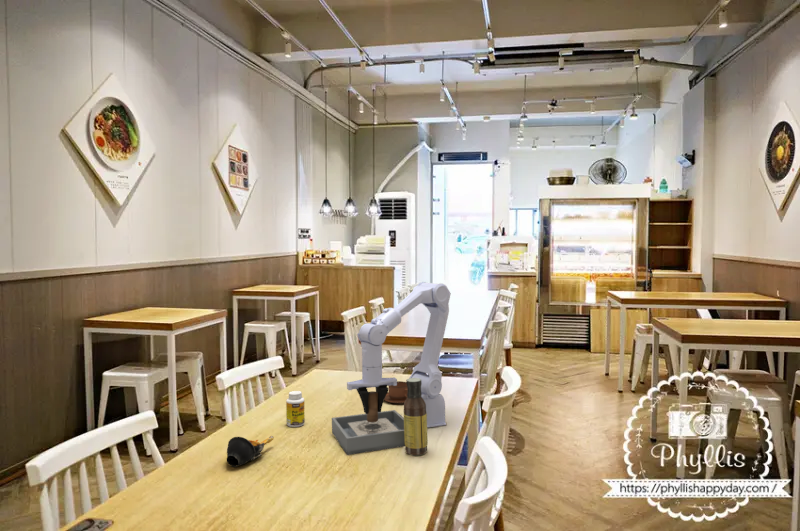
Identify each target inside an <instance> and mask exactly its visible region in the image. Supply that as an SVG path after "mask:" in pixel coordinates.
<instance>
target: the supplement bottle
mask: <svg viewBox="0 0 800 531" xmlns="http://www.w3.org/2000/svg"><path fill="white" fill-rule="evenodd" d="M285 401H286V402H285V403H286V404H285V405H286V407H285V408H286V409H285V410H286V411H285V412H286V418H285V419H286V426H288V427H290V428H299V427H301V426H303V425H304V424H305V420H306V419H305V398H304V396H303V393H302V391H300V390H293V391H289V392H288V398H287V399H286V400H285Z"/></svg>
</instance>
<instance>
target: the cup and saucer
mask: <svg viewBox="0 0 800 531" xmlns="http://www.w3.org/2000/svg"><path fill="white" fill-rule="evenodd" d="M407 393H408V391H407V384H406V381H398V380H397V385H396V386H393V385H390V386H388V393H387V394H386V396H385V399H384V401H385V402H386V403H390V404H404V403H405V401H406V399H407V396H408V395H407Z"/></svg>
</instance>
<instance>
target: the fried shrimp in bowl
mask: <svg viewBox="0 0 800 531" xmlns="http://www.w3.org/2000/svg"><path fill="white" fill-rule="evenodd" d="M273 440H274V436H273V435H270V436H269V437H267V438H266V439H264V440H262V441H260V442H259V439H255V440H251V439H250V440H249V439H247V438H245V437H242V436H234V437H231V439H229V440H228V444H227V449H226V455H227V457H226V463H227V464H228V466H230V467H231V468H237V467H239V466H242V465H245V464H247V463H249V462H250V461H255V460H257V459H258V458H260V457H261V456H262V451H264V447H265V445H267V444H269V443H271V442H272V441H273Z"/></svg>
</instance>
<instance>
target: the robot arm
mask: <svg viewBox="0 0 800 531" xmlns="http://www.w3.org/2000/svg"><path fill="white" fill-rule="evenodd" d="M450 298H451V291H450V289H449V288H448V286H447V285H446V284H444V283H441V282H440V283H434V282H426V281H422V282H419V283H418V284H417V285H416V286H413V289H412V291H411V292H410V293H409V294H408V295H407V296H406V297H404V298H403V299H402V301H400V302H399V303H398V304H397V305H396V306H395V307H388V308H386V307H385V308H384V309H383V310H382V312H381V313H380V314H378V315H377V316H376V317H375V318H372V319H371V320H370V323H364V324H363V325H361V327H360V329H359V331H358V333H357V334H356V335H357V339H358V340H359V342H360V347H361V373H362V374H361V377H362V378H361V379H356V380H353V381H347V382H346V390H348V391H352V390H356V391H357V393H358V396H359V398H360V400H361V405H362V408H363V412H364V414H368V411H369V410H368V397H369V392H370V391H368V388H375V392H378V412H382V409H383V408H382V407H383V405H384V404H383V403H384V401H385V400H384V399H385V396H386V394H387V393H388V392H389V386H390V385H393V386H396V385H397V381H398V379H397V378H396V377H383V351H382V350H383V347H382V346H383V344H384V343H385V341H386V338H387V336H388V335H389V333H390V332H392V331H393V330H394V329H396V327H398V326H399V325H400V324H401V322H402V317H404V316H405V315H406V314H407V313H409V312H411V310H413V309H414V308H416V307H418V306H419V305H420V304H422V305H423V306H424V307H425V308H426V309H427V310H428V312H429V313H430V316H429V320H428V325H427V330H426V334H425V339H424V342H423V347H422V352H421V355H420V361H419V363H417V364H416V365H415V366H414V367H413V370H412V373H411V374H410V376H409V378H420V379H421V383H422V384H421V393H422V396H421V397H422V398H423V400H424V401H425V404H426V413H427V429H429V428H433V427H442V426H446V425H447V423H446V403H445V402H446V401H445V398H444V396H443V395H442V394H441V392H442V389H443V387H442V386H443V383H442V378H443V374H442V372H441V370H440V369H439V367H438V364H439V360H440V355H441V351H442V346H443V342H444V336H445V331H446V329H447V328H446V327H447V324H448V323H447V322H448V318H449V317H448V316H449V312H450V307H449V306H450V304H449V303H450Z"/></svg>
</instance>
